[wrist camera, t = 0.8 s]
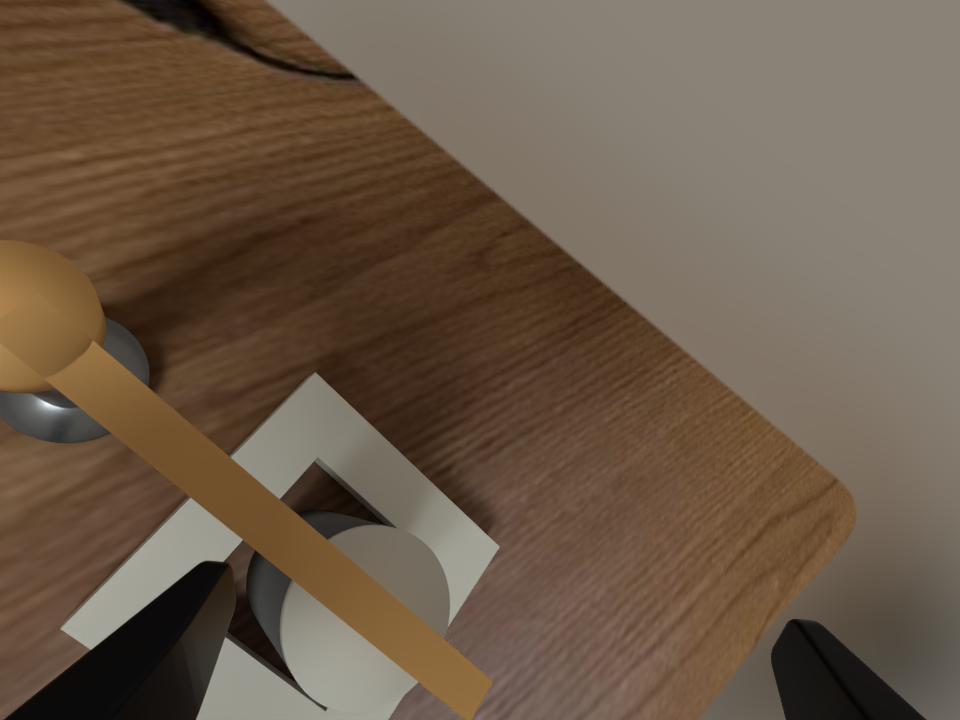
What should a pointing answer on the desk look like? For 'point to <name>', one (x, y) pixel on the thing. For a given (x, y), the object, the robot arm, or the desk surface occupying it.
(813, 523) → the desk surface
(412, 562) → the plug
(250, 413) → the desk surface
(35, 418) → the post
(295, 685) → the socket block
